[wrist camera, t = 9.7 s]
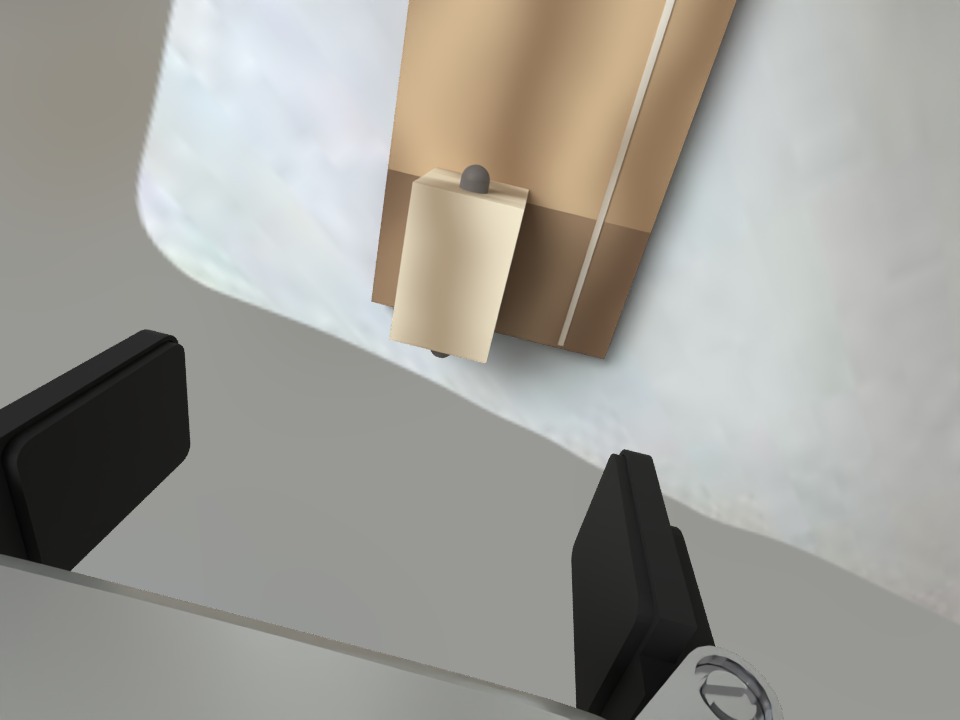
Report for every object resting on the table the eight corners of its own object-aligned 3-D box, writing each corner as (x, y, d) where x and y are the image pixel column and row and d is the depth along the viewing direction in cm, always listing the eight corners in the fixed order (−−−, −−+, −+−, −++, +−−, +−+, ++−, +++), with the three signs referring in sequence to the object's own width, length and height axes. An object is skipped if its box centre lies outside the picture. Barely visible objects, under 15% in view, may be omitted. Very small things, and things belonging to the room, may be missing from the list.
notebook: (763, -100, 20) (779, -114, 19) (601, 347, 30) (604, 360, 28) (441, -177, 21) (433, -197, 19) (379, 292, 30) (370, 302, 28)
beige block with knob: (534, 167, 24) (531, 183, 20) (491, 338, 29) (481, 382, 24) (440, 145, 24) (416, 155, 20) (411, 318, 29) (386, 358, 24)
